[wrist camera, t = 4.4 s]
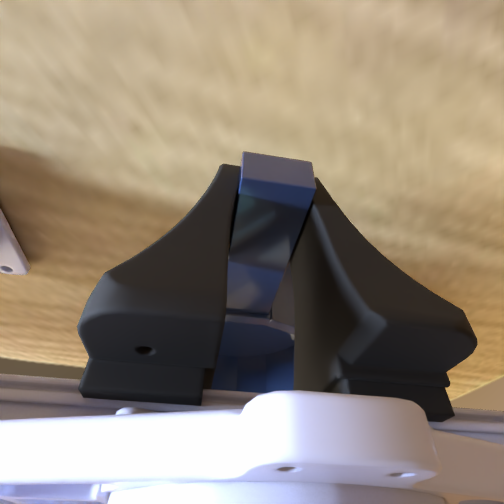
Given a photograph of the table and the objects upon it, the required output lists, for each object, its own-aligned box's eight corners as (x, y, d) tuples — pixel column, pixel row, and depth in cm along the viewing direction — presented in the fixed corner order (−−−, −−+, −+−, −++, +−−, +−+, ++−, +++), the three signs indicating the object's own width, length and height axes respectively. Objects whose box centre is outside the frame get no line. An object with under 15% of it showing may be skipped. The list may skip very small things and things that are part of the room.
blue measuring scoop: (298, 359, 26) (303, 413, 24) (143, 346, 25) (129, 400, 22) (432, 146, 13) (480, 216, 10) (99, 90, 11) (48, 153, 8)
